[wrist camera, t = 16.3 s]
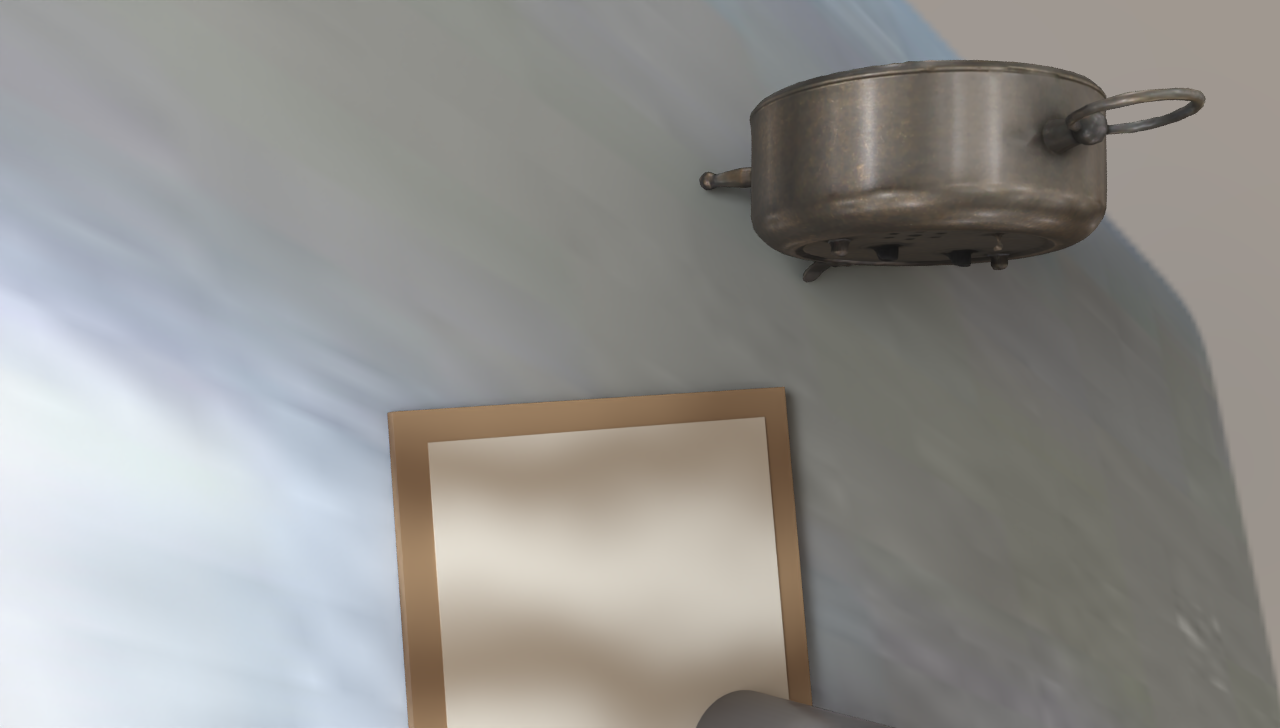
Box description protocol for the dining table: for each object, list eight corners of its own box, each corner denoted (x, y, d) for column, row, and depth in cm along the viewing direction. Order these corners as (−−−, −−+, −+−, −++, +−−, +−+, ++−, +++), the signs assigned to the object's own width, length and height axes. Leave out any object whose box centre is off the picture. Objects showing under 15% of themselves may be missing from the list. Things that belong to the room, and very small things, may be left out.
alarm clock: (920, 165, 46) (1319, 21, 32) (925, 302, 46) (1334, 220, 31) (673, 134, 41) (1014, -53, 27) (676, 287, 41) (1025, 181, 26)
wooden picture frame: (387, 412, 36) (393, 411, 35) (775, 388, 42) (786, 386, 41) (428, 1025, 35) (435, 1035, 34) (820, 904, 41) (831, 911, 40)
